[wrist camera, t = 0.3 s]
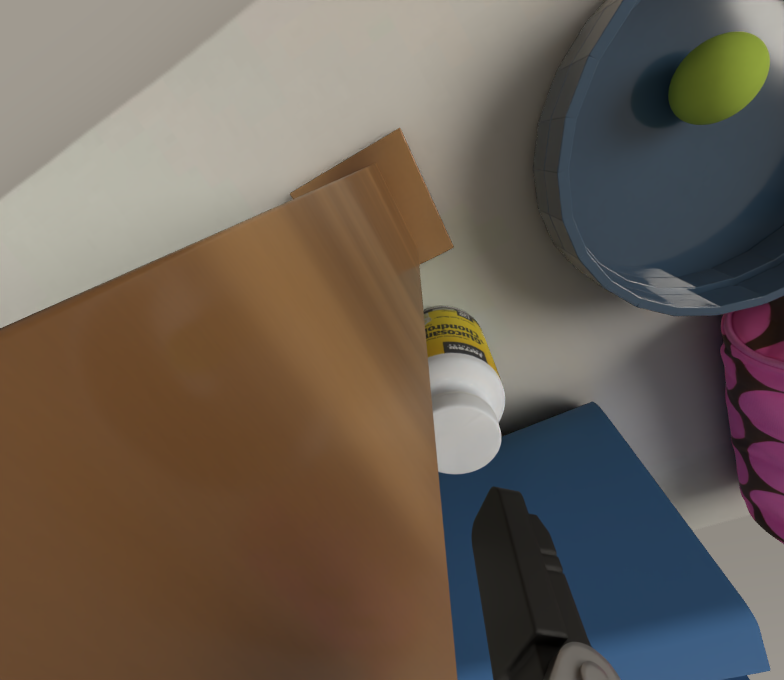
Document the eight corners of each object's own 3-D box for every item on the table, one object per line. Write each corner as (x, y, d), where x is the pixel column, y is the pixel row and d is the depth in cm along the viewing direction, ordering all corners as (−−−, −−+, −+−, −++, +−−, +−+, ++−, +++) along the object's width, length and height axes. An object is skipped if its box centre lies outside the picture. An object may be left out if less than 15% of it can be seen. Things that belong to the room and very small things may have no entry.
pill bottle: (493, 313, 29) (541, 405, 18) (468, 382, 32) (496, 496, 21) (410, 294, 28) (411, 378, 18) (392, 366, 31) (383, 475, 21)
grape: (677, 33, 21) (734, 9, 17) (744, 53, 21) (814, 33, 17) (639, 117, 22) (683, 111, 19) (702, 134, 23) (757, 131, 19)
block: (633, 510, 38) (799, 778, 22) (466, 561, 42) (502, 813, 26) (576, 374, 31) (756, 617, 15) (385, 452, 36) (367, 702, 20)
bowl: (623, -130, 18) (692, -220, 14) (970, -19, 20) (1135, -69, 15) (489, 254, 27) (505, 276, 22) (736, 314, 28) (798, 345, 24)
